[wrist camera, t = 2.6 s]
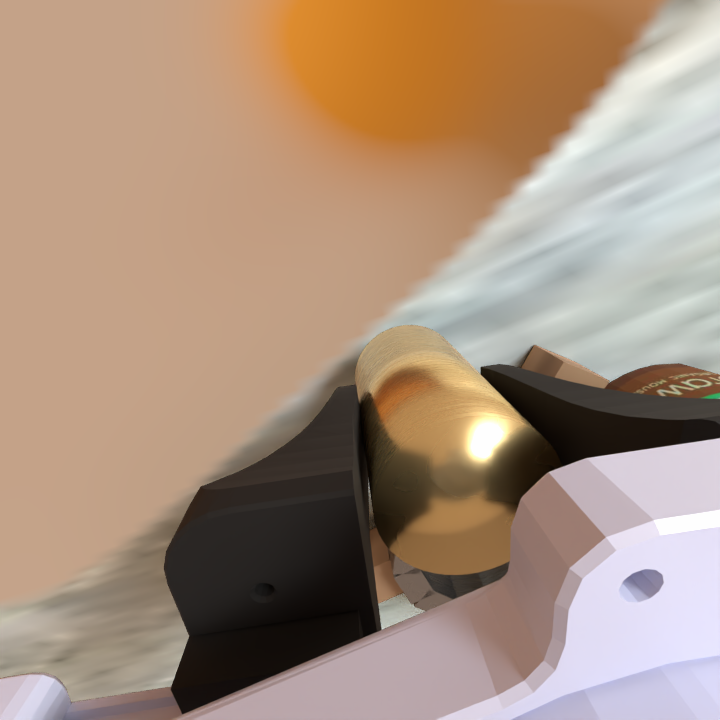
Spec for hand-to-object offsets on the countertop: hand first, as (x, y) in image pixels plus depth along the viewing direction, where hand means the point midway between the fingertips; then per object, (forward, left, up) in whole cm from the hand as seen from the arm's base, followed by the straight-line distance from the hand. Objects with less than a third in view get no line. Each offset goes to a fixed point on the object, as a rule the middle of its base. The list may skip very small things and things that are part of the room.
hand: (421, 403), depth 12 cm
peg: (0, 0, -2) cm, 2 cm away
